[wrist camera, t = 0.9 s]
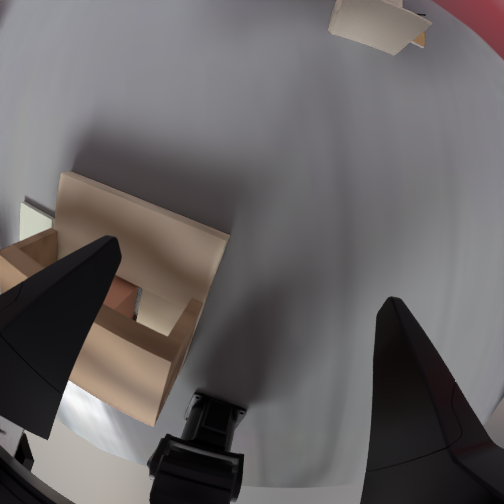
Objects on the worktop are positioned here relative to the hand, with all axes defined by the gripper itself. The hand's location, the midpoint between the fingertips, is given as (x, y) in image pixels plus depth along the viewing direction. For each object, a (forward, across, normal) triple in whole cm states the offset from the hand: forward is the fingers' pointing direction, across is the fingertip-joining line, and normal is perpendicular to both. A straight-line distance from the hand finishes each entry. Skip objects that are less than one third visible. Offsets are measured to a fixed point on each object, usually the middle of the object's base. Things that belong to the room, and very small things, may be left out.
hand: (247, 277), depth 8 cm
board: (+9, +13, +13) cm, 20 cm away
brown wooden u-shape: (+6, +13, +14) cm, 20 cm away
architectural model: (+19, -5, -10) cm, 22 cm away
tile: (+9, +26, +12) cm, 30 cm away
